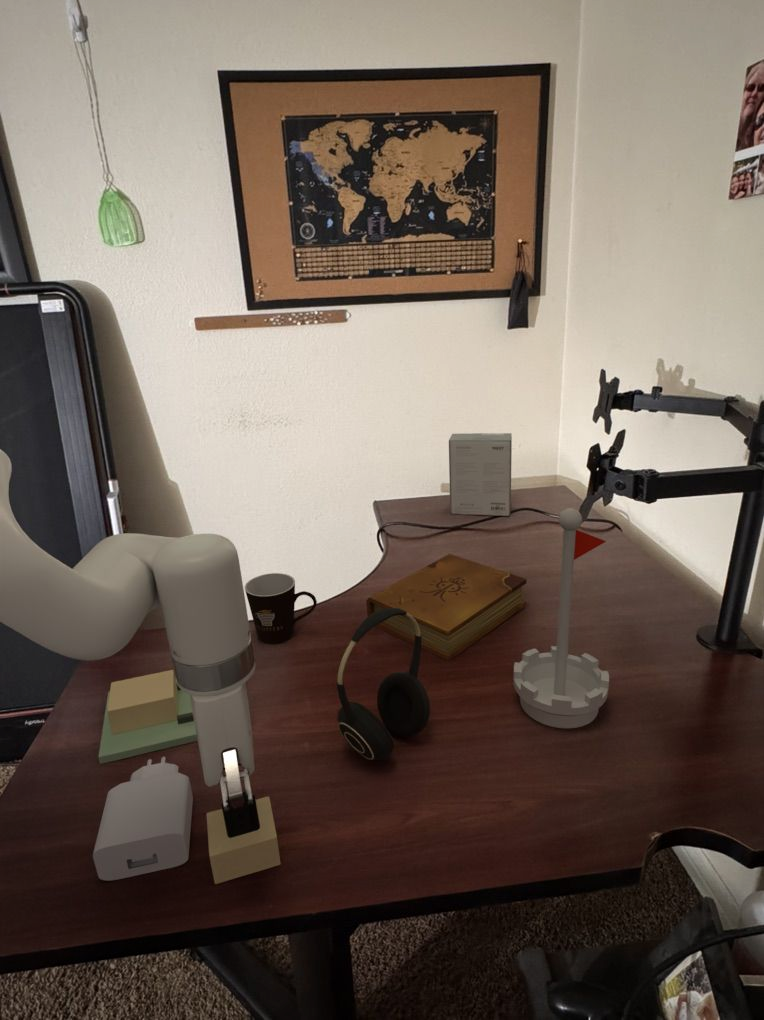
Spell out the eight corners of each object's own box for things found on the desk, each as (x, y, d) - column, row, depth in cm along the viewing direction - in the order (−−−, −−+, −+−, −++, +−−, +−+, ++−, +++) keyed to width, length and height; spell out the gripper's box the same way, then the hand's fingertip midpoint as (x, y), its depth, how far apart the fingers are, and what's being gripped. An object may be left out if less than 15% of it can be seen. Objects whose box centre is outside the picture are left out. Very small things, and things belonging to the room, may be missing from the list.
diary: (446, 578, 129) (446, 552, 127) (525, 606, 117) (526, 578, 115) (367, 623, 114) (365, 594, 112) (448, 661, 102) (448, 630, 100)
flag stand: (532, 739, 84) (542, 533, 73) (500, 681, 96) (505, 497, 86) (623, 726, 86) (646, 522, 75) (581, 670, 98) (595, 488, 87)
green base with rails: (99, 764, 84) (91, 732, 82) (109, 697, 97) (102, 669, 95) (251, 728, 89) (246, 697, 87) (240, 669, 102) (236, 642, 101)
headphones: (445, 729, 87) (444, 601, 80) (368, 790, 77) (359, 651, 70) (400, 702, 93) (395, 581, 86) (323, 756, 83) (310, 624, 76)
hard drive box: (511, 506, 166) (513, 433, 159) (509, 517, 159) (512, 440, 152) (452, 504, 170) (452, 432, 163) (449, 514, 163) (448, 439, 156)
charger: (196, 766, 82) (189, 864, 69) (122, 781, 81) (100, 883, 67) (191, 737, 81) (182, 831, 67) (115, 751, 79) (90, 850, 65)
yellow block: (214, 884, 66) (209, 856, 65) (211, 839, 72) (206, 812, 70) (280, 864, 68) (277, 837, 67) (272, 822, 73) (269, 795, 72)
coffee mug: (241, 638, 111) (234, 588, 108) (275, 617, 118) (269, 569, 114) (289, 658, 105) (283, 605, 101) (323, 634, 111) (318, 584, 108)
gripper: (173, 624, 68) (199, 751, 74) (174, 725, 52) (207, 875, 58) (244, 610, 70) (263, 735, 76) (265, 703, 54) (287, 851, 60)
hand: (239, 796), depth 67 cm, fingers open, 9 cm apart
